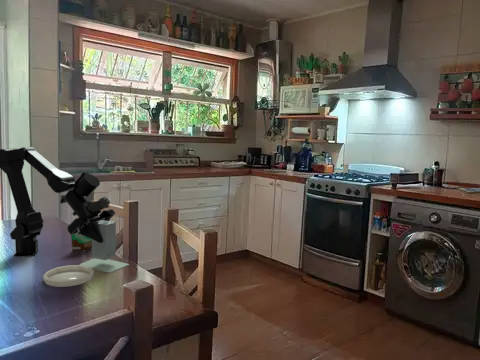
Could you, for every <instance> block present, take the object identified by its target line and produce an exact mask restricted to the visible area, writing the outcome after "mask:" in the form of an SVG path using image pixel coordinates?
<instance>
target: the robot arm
mask: <svg viewBox="0 0 480 360" xmlns="http://www.w3.org/2000/svg"><path fill="white" fill-rule="evenodd" d="M25 162H27V163H28V164H29V165H30V166H31V167H32V168H33V169H35V170H36V171H37V172H38V173H40V175H42V176H43V178H45V179H46V181H47V185H48V186H49V187H50V188H51V190H52V191H53V192H54V193H57V194H61V193H65V194H63V195H61V197H60V204H66V203H67V204H68V206H69V207H70V208H71V210H72V211H73V212H72V213H71V214H72V216H73V217H74V216H77V217H76V218H74V219H73V220H72V221H71V222H70V223H69V225H67V232H68V233H69V235H70V236H71V235H73V234H76V233H77V232H78V228H79V230H80V232H79V233H78V234H79V235H80V234H81V235H83V236H86V237H88V238H90V239H93V240H95V241H97V242H99V243H102V242H103V240H102V238H101V237H100V235H99V234H98V232H97V231H96V229H95V228H94V223H95V222H98V221H101V220H106V221H111V219H112V218H113V217H114V216H115V214H116V212H115V211H114V209H113V208H110V206H109V205H110V203H111V200H109V198H108V197H106V196H103V197H100V198H98V200H95V201H91V200H90V201H89V200H88V199H87V198H86V197H90V196H91V195H92V194H93V193H94V192H95V191H96V190H97V188H98V187H99V186H100V185H101V181H100V179H98V177H97V176H95V175H93V174H91V173H89V172H88V171H82V173H81V174H80V176H79V177H78V178H75V177H74V176H73V175H72V174H70V173H69V172H67V171H64V170H61V169H59V168H57V167H56V166H54V165H53V164H52V163H51V162H49V160H47V159H46V158H45V157H44V156H43V155H41V154H40V153H39V152H38V151H37V149H36V148H35V147H31V146H25V147H24V146H23V147H20V148H1V149H0V170H2V172H4V174H6V178H7V180H8V184H9V188H10V192H11V194H12V197H13V201H14V203H15V207H16V210H17V213H16V217H15V220H14V221H15V227H14V229H12V231H11V232H10V233H9V236H10V238H11V240H14V243H15V244H14V245H15V252H14V254H13V256H14V257H21V256H24V257H29V256H32V257H33V256H34V255H35V254H36V253H37V252H39V240H38V238H37V236H40V235H41V234H42V233H41V232H42V229H43V227H44V219H43V217H42V213H41V211H36V210H35V209H34V208H33V203H32V202H31V198H30V197H31V196H30V194H29V191H28V188H27V184H26V181H25V177H24V172H23V168H24V166H25ZM104 209H105V210H104Z"/></svg>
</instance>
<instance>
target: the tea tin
mask: <svg viewBox="0 0 480 360" xmlns="http://www.w3.org/2000/svg"><path fill="white" fill-rule="evenodd" d="M116 225H117V223H116V221H114V220H113V221H111V220H110V221H106V220H101V221H98V222H95V223H94V228H95V229H96V231H97V232H98V234H99V235H100V237H101V238H102V240H103V242H102V243H99V242H97V241H95V240H93V239H92V249H91V258H92V259H101V260H107V259H109V260H110V259H111V258H113V257H115V256H116V255H117V254H116V253H117V251H116V250H117V249H116V247H117V239H116V237H117V235H116V234H117V230H116V229H117V228H116V227H117V226H116Z"/></svg>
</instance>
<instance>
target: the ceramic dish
mask: <svg viewBox="0 0 480 360" xmlns="http://www.w3.org/2000/svg"><path fill="white" fill-rule="evenodd" d="M94 276H95V269H92V268H91V267H87V266H83V265H79V264H78V265H77V264H74V265H73V264H70V265H69V264H68V265H63V266H58V267H55V268H52V269H50V270H47V271H46V272H45V273H44V275H43V276H42V277H43V278H42V279H43V282H44V283H45V284H46V285H47V286H51V287H56V288H57V287H58V288H59V287H61V288H63V287H64V288H65V287H73V286H78V285H82V284H85V283H87V282H89V281H91V280H92V279H93V278H94Z"/></svg>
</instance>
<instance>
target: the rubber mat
mask: <svg viewBox="0 0 480 360" xmlns="http://www.w3.org/2000/svg"><path fill="white" fill-rule="evenodd" d="M78 265H83V266H87V267H91V268H92V269H93V270H94V271H95V270H96V271H100V272H103V273H107V274H113V273H115V272H116V271H118V270H121V269H123V268H126V267H128V266H130V264H129V263H125V262H122V261H117V260H113V259H110V258H109V259H107V260H101V259H95V258H92V259H90V260H87V261H84V262H82V263H81V262H80V264H78Z"/></svg>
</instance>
